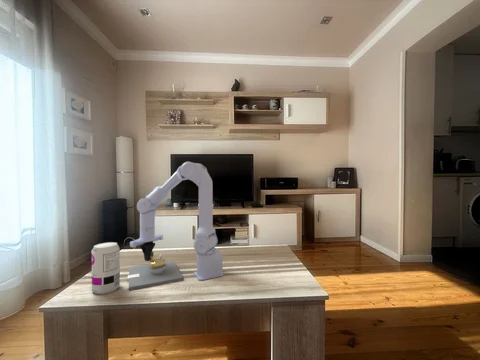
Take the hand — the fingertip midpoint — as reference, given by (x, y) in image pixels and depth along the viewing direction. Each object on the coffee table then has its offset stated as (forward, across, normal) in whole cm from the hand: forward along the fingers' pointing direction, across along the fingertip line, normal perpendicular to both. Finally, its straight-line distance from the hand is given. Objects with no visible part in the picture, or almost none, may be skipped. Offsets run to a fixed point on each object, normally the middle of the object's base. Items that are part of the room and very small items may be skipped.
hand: (147, 260), depth 96 cm
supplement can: (+4, +18, +3) cm, 19 cm away
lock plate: (+4, +2, +7) cm, 8 cm away
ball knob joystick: (0, 0, +4) cm, 4 cm away
